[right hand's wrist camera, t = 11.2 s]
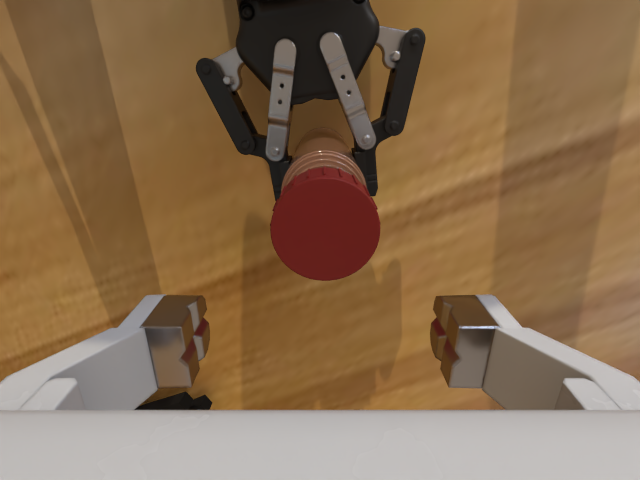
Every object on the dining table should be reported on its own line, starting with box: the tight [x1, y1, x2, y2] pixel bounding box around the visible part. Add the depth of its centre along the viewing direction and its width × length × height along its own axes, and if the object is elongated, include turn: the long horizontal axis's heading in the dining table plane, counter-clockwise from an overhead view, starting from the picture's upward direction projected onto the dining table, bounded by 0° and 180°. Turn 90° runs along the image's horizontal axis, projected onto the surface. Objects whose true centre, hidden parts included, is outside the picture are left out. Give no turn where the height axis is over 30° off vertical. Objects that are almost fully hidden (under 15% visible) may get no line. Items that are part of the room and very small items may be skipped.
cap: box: [270, 166, 380, 281], centre depth 14 cm, size 4×4×2 cm
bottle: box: [281, 128, 367, 192], centre depth 22 cm, size 4×4×18 cm
